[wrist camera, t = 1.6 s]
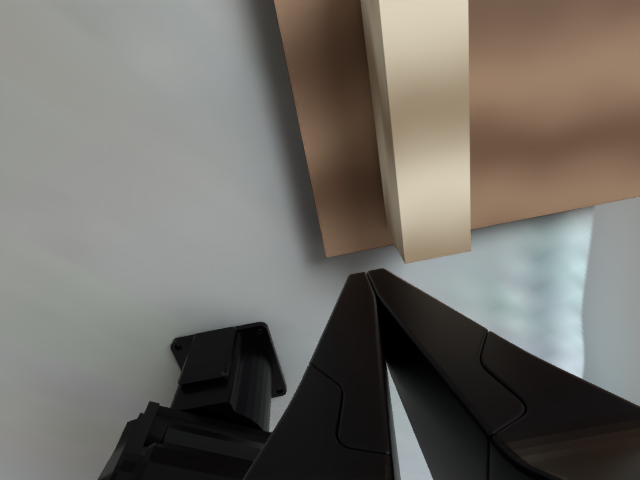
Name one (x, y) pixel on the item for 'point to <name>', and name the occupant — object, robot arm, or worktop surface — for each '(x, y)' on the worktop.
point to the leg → (422, 121)
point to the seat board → (478, 111)
